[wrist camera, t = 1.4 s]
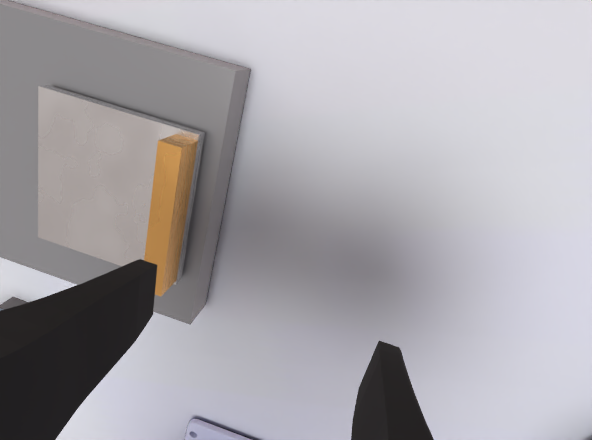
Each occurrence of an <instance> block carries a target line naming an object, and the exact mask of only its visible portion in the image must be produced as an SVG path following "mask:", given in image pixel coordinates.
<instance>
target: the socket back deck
mask: <svg viewBox="0 0 592 440" xmlns="http://www.w3.org/2000/svg"><path fill="white" fill-rule="evenodd" d="M70 24H79V25H90V26H97V25H93V24H90V23H86V22H83V21H79V20H76V19H72V18H69V17H65V16H61V15H58V14H54V13H51V12H47V11H44V10H40V9H37V8H33V7H30V6H26V5H23V4H19V3H16V2H12V1H9V0H0V257H2V258H4V259H7V260H10V261H13V262H16V263H18V264H21V265H24V266H27V267H30V268H33V269H35V270H38V271H41V272H44V273H47V274H49V275H52V276H55V277H58V278H61V279H63V253H64V246H62V245H59V244H56V243H53V242H50V241H47V240H44V239H42V238H39V237H38V86H44V85H50V86H53V87H57V88H60V89H63V90H67V91H68V82H69V47H70Z"/></svg>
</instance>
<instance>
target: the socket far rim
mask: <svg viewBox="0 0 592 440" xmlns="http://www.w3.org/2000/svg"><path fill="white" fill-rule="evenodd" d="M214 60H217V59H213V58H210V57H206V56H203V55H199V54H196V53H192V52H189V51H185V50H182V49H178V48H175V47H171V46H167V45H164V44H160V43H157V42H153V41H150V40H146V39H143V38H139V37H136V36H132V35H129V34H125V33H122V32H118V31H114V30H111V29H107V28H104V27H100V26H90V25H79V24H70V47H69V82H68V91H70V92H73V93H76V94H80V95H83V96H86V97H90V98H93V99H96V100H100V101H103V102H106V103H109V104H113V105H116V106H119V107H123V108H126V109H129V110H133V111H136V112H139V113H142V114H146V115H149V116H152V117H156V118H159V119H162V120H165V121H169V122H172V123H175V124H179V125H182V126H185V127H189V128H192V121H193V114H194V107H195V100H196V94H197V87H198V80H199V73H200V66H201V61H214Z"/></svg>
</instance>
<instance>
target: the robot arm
mask: <svg viewBox="0 0 592 440" xmlns="http://www.w3.org/2000/svg"><path fill="white" fill-rule="evenodd" d="M156 276H157V265H156V264H153V263H150V262H147V261H144V260H142V259H139V260H136V261H133V262H131V263H129V264H126V265H124V266H122V267H119V268H117V269H115V270H113V271H110V272H108V273H106V274H103V275H101V276H98V277H96V278H94V279H91V280H89V281H87V282H84V283H82V284H79V285H77V286H74V287H71V288H69V289H66V290H63V291H61V292H58V293H55V294H52V295H50V296H47V297H44V298H41V299H38V300H35V301H32V302H29V303H26V304H22V305H19V306H15V307H12V308H8V309H4V310H1V311H0V440H55V439H56V438H57V436H58V435H59V434H60V432H61V431H62V429H63V428H64V427H65V425H66V424H67V422H68V421H69V420H70V418H71V417H72V415H73V414H74V413H75V411H76V410H77V409H78V407H79V406H80V405H81V404H82V402H83V401H84V400H85V399H86V397H87V396H88V395H89V394H90V393H91V392H92V390H93V389H94V388H95V387H96V386H97V385H98V384H99V382H100V381H101V380H102V379H103V378H104V377H105V376H106V374H107V373H108V372H109V371H110V370H111V369H112V368H113V366H114V365H115V364H116V363H117V362H118V361H119V360H120V358H121V357H122V356H123V355H124V354H125V353H126V351H127V350H128V349H129V348H130V347H131V346H132V344H133V343H134V342H135V341H136V339H137V338H138V336H139V335H140V333H141V332H142V331H143V329H144V328H145V326H146V324H147V323H148V321H149V320H150V318H151V317H152V315H153V308H154V297H155V287H156ZM185 440H251V439H249V438H246V437H243V436H241V435H238V434H235V433H233V432H230V431H228V430H225V429H222V428H220V427H217V426H214V425H212V424H209V423H206V422H204V421H201V420H199V419H192V420H190V422H189V424H188V426H187V430H186V435H185ZM351 440H434V439H433V437H432V435H431V432H430V430H429V428H428V426H427V424H426V421H425V419H424V416H423V414H422V411H421V409H420V406H419V404H418V401H417V399H416V396H415V393H414V390H413V388H412V385H411V382H410V379H409V376H408V373H407V370H406V366H405V363H404V360H403V356H402V353H401V350H400V348H399V347H396V346H393V345H390V344H387V343H384V342H381V341H379V342H378V344H377V347H376V349H375V351H374V354H373V356H372V358H371V361H370V363H369V365H368V368H367V370H366V373H365V375H364V377H363V380H362V382H361V384H360V387H359V390H358V395H357V400H356V406H355V411H354V416H353V424H352V436H351Z"/></svg>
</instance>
